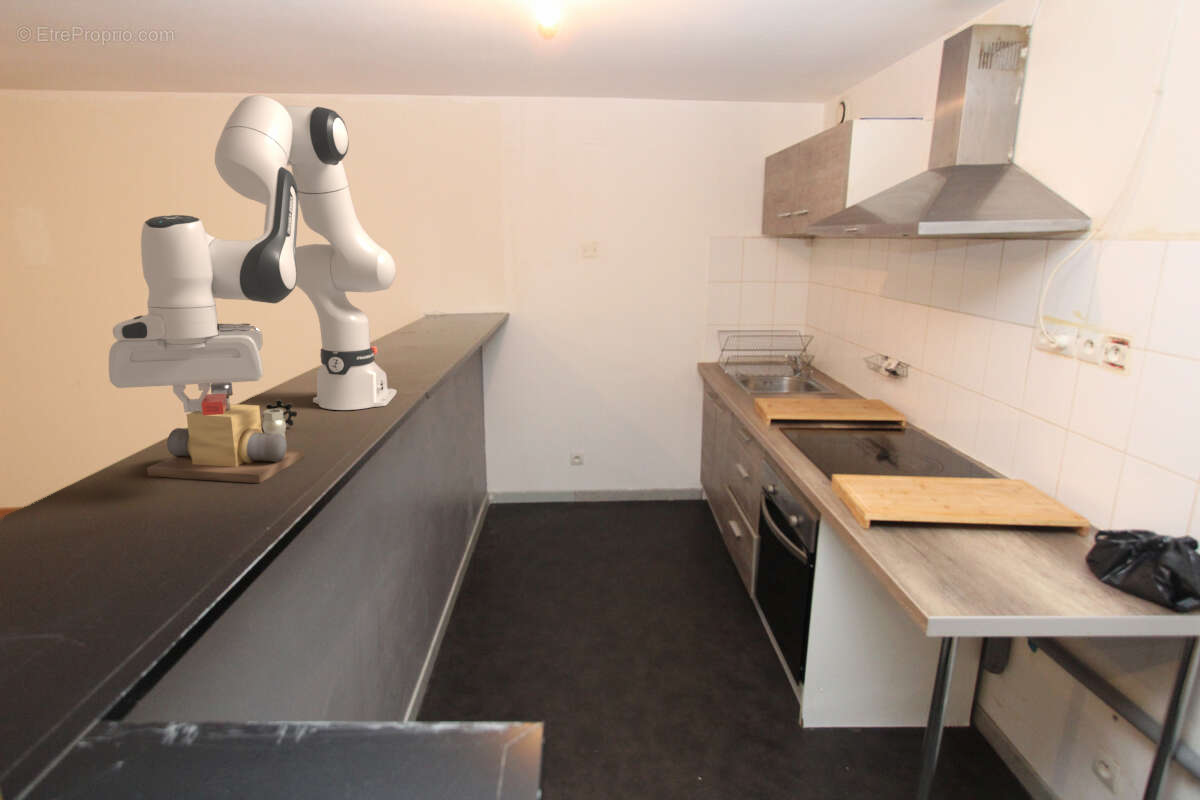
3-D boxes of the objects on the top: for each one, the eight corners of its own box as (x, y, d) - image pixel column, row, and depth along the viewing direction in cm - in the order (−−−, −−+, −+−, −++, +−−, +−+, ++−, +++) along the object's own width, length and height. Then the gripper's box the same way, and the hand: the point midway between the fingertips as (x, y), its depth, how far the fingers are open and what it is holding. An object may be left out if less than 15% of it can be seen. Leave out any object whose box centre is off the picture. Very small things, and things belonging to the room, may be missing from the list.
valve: (292, 444, 129) (298, 427, 140) (290, 412, 128) (296, 398, 139) (256, 446, 127) (264, 429, 138) (253, 414, 126) (262, 400, 137)
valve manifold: (203, 450, 123) (196, 385, 120) (303, 456, 122) (298, 391, 119) (148, 476, 109) (137, 403, 106) (259, 483, 108) (252, 410, 105)
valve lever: (212, 393, 113) (211, 382, 113) (233, 392, 114) (232, 381, 114) (201, 415, 99) (199, 403, 99) (225, 413, 101) (223, 401, 100)
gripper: (261, 320, 106) (268, 401, 109) (109, 323, 97) (122, 411, 100) (260, 325, 100) (267, 410, 103) (98, 328, 91) (112, 421, 95)
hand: (194, 411), depth 102 cm, fingers closed
